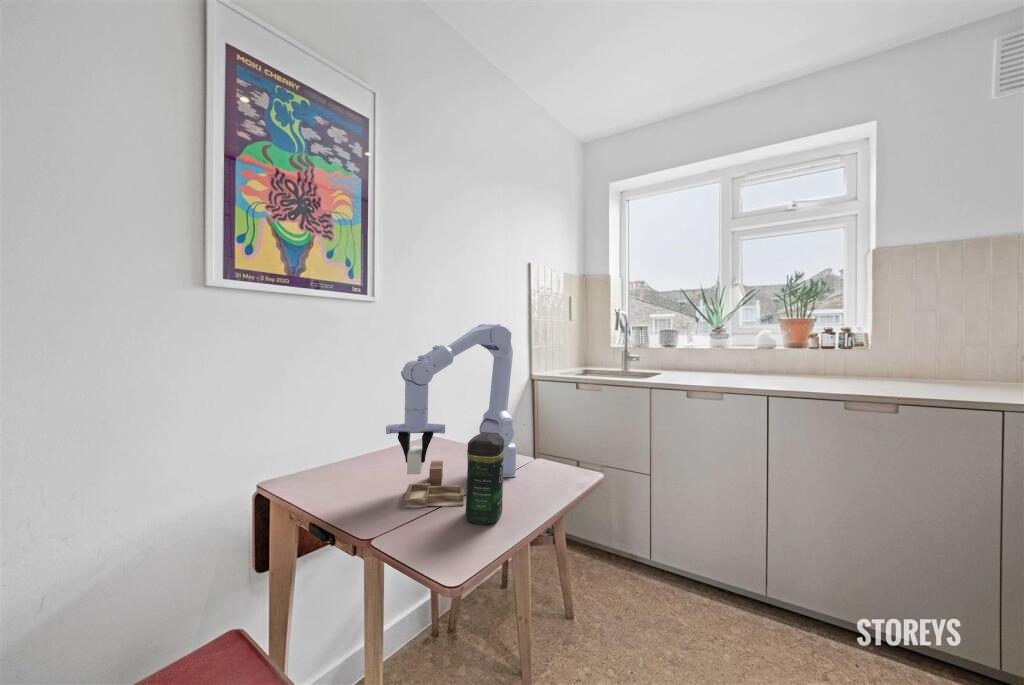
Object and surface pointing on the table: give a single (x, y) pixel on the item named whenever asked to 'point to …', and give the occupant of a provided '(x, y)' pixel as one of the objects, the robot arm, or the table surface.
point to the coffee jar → (485, 478)
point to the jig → (433, 495)
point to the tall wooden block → (436, 473)
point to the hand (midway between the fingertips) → (415, 461)
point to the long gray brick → (414, 460)
